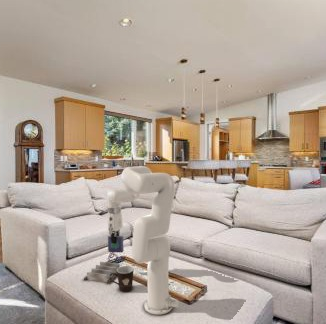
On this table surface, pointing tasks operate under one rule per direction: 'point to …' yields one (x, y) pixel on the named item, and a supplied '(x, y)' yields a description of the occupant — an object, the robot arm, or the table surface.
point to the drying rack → (103, 272)
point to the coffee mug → (124, 278)
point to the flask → (115, 244)
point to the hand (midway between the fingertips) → (115, 241)
